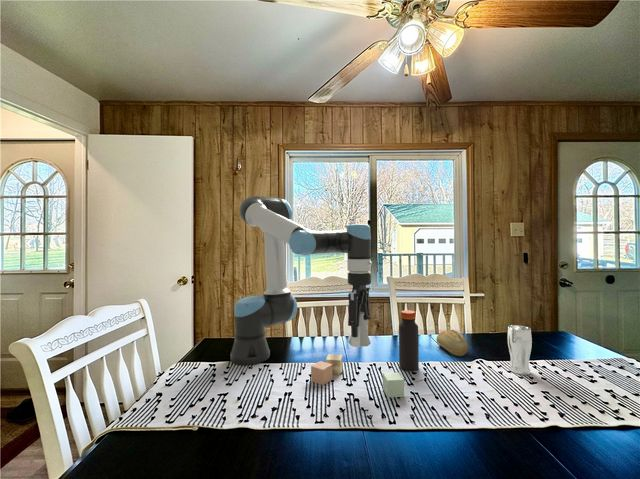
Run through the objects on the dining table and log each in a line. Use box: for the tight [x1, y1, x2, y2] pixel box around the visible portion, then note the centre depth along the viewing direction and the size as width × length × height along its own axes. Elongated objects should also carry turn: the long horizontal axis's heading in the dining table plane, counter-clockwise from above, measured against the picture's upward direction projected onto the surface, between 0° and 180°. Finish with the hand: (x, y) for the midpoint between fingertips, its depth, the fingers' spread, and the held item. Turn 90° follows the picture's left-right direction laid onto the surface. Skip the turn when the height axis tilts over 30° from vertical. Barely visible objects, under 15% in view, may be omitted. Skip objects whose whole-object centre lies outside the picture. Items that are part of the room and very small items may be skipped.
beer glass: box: [507, 324, 533, 376], centre depth 104 cm, size 7×7×15 cm
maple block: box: [325, 353, 343, 376], centre depth 106 cm, size 5×5×5 cm
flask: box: [348, 312, 371, 348], centre depth 97 cm, size 7×7×10 cm
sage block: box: [382, 371, 405, 398], centre depth 90 cm, size 5×5×5 cm
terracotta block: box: [310, 360, 333, 386], centre depth 99 cm, size 5×5×5 cm
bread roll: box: [436, 329, 469, 357], centre depth 123 cm, size 10×15×8 cm, turn 12°
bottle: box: [398, 309, 420, 372], centre depth 108 cm, size 7×7×20 cm
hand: (359, 342), depth 97 cm, fingers closed on flask, 7 cm apart
